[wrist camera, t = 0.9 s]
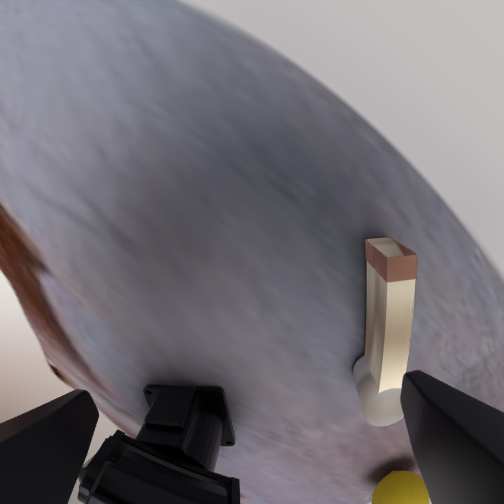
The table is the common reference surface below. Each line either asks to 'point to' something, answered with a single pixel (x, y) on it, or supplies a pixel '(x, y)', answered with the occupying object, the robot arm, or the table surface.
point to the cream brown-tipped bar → (386, 329)
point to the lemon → (401, 489)
